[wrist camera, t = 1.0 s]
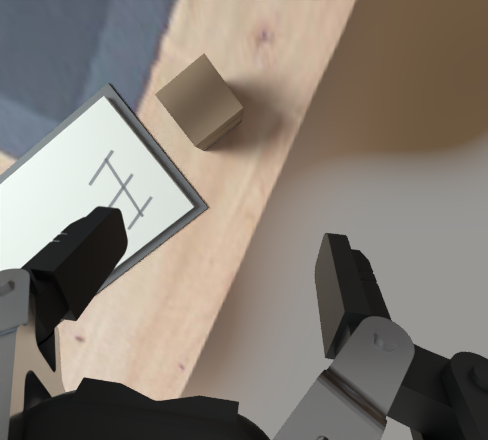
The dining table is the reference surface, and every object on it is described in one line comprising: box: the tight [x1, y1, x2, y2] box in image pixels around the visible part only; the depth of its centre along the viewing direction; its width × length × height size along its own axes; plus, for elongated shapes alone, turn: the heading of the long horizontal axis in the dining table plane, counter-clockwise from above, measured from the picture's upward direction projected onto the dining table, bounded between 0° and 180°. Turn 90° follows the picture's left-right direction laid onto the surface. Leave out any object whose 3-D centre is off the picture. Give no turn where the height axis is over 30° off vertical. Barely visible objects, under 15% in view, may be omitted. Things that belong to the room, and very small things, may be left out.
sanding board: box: [0, 83, 208, 320], centre depth 30 cm, size 16×24×1 cm, turn 127°
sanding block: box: [155, 54, 243, 151], centre depth 25 cm, size 5×5×7 cm
